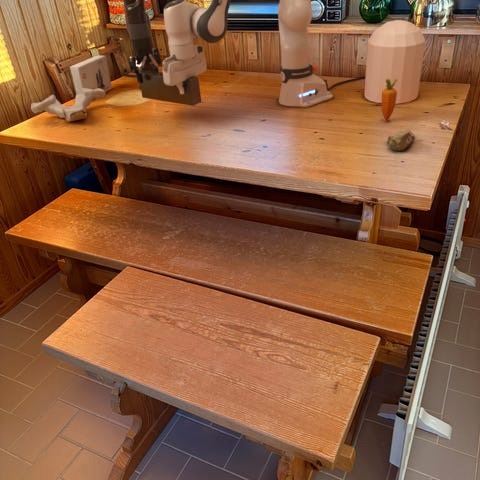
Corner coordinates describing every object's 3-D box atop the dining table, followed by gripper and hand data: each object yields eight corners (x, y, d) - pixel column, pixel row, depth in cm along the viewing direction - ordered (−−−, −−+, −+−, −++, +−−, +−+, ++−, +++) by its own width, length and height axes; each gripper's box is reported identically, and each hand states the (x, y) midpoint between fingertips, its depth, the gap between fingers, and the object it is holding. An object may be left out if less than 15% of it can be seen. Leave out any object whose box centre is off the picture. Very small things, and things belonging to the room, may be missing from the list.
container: (387, 107, 176) (395, 28, 160) (353, 94, 192) (357, 21, 176) (429, 96, 183) (441, 19, 167) (393, 84, 199) (400, 12, 183)
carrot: (394, 118, 167) (398, 76, 158) (393, 123, 163) (397, 80, 154) (379, 117, 168) (383, 75, 160) (378, 122, 165) (382, 80, 156)
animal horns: (27, 127, 191) (17, 99, 184) (60, 107, 212) (52, 81, 206) (89, 127, 185) (81, 97, 179) (116, 106, 206) (110, 79, 200)
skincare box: (87, 102, 214) (77, 67, 204) (78, 102, 215) (68, 66, 206) (113, 88, 229) (105, 54, 220) (104, 88, 231) (96, 54, 222)
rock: (408, 140, 153) (379, 139, 152) (414, 122, 149) (384, 120, 148) (421, 154, 144) (391, 153, 143) (428, 135, 140) (396, 133, 139)
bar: (142, 97, 184) (137, 73, 178) (150, 94, 187) (146, 70, 181) (193, 106, 170) (189, 80, 164) (201, 101, 173) (198, 76, 167)
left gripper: (146, 30, 177) (154, 74, 186) (119, 39, 168) (128, 84, 177) (160, 31, 173) (168, 75, 182) (133, 40, 164) (142, 86, 173)
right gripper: (168, 60, 155) (176, 100, 162) (206, 45, 168) (211, 83, 175) (155, 59, 158) (163, 99, 166) (193, 44, 171) (199, 82, 179)
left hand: (148, 80), depth 180 cm, fingers open, 8 cm apart
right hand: (188, 91), depth 171 cm, fingers closed on bar, 5 cm apart
